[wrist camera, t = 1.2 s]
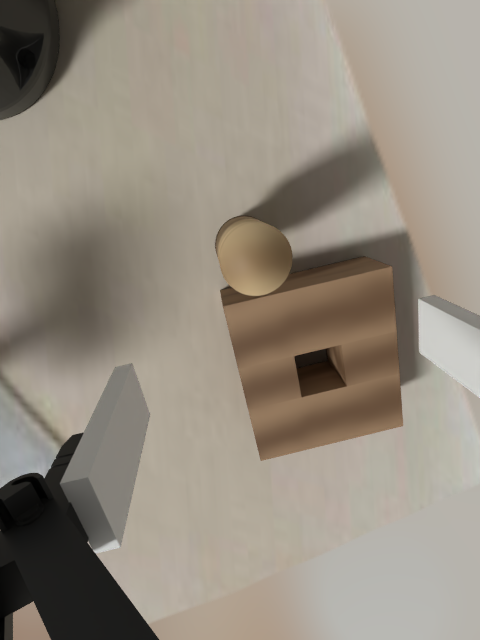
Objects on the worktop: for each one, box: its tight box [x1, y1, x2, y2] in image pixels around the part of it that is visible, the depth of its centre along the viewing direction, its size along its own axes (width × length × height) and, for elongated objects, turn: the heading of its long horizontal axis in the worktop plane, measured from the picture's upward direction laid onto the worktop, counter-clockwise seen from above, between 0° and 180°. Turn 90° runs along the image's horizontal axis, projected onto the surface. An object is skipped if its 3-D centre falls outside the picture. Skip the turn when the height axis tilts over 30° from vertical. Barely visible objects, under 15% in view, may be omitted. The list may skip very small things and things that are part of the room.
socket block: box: [220, 256, 403, 461], centre depth 39 cm, size 18×16×6 cm
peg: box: [215, 216, 292, 296], centre depth 30 cm, size 5×5×14 cm
